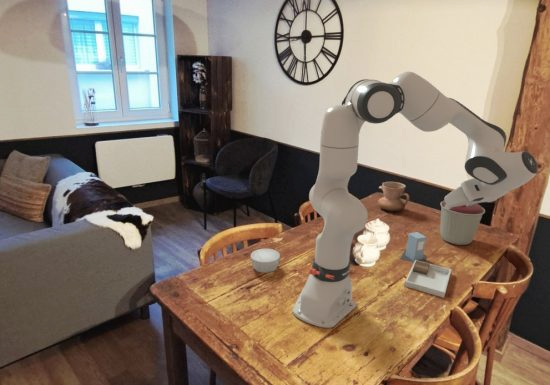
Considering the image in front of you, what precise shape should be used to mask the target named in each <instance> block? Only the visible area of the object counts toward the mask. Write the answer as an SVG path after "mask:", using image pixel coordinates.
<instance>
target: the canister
mask: <svg viewBox="0 0 550 385" xmlns="http://www.w3.org/2000/svg"><path fill="white" fill-rule="evenodd" d="M445 205H446V203H445V200H443V201H441V202H440V208H441V210H440V227H439V228H440V229H439V230H440V233H439V234H440V236H441V238H442V239H443V241H446V242H447V243H450V244H453V245H458V246H465V245H466V246H467V245H469V244H471V243H472V242H473V240H474V239H475V236H476V233H477V231H478V228H479V225H480V222H481V220H482V217H483V215H484V214H485V213H486V209H485V208H484V207H482V205H480V204H479V203H476V204H473V205H471V206H466V205H463V206H456V207H453V208H451V209H448V210H446V208H445Z"/></svg>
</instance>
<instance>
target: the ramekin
mask: <svg viewBox="0 0 550 385" xmlns="http://www.w3.org/2000/svg"><path fill="white" fill-rule="evenodd" d="M280 259H281V254H280V252H278V250H276V249H272V248H260V249H256V250H253V251H252V252H251V254H250V260H251V264H252V267H253V269H254V270H255V271H257V272H259V273H263V274H264V273H265V274H266V273H267V274H268V273H272V272H274V271H276V269H278V267H279V262H280Z"/></svg>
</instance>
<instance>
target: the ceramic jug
mask: <svg viewBox="0 0 550 385" xmlns="http://www.w3.org/2000/svg"><path fill="white" fill-rule="evenodd" d="M378 190H381V191H382V192H383V195H384V196H382V197H381V198H378V200H377V206H379V208H381V209H382V210H384V211H389V212H399V211H402V210H404V209H405V208H406V206H407V204H408V203H409V201H410V195H409V194H408V193H406V192H405V190H406V184H403V183H401V182H398V181H397V182H396V181H385V182H382V185H380V186H378ZM403 196H405V198H406V199H405V201H404V200H403V199H401V197H403Z"/></svg>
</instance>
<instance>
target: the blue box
mask: <svg viewBox="0 0 550 385" xmlns="http://www.w3.org/2000/svg"><path fill="white" fill-rule="evenodd" d="M407 236H408V237H407V241H406V249H405V250H406V254H405V256H407V257H408V258H410V259H411V260H413V261H415V260H421V259H422V258H423V255H424V251H425V246H426V241H427V236H426V235H423V234H421V233H420V232H418V231H415V232H410V233H408V235H407Z"/></svg>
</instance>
